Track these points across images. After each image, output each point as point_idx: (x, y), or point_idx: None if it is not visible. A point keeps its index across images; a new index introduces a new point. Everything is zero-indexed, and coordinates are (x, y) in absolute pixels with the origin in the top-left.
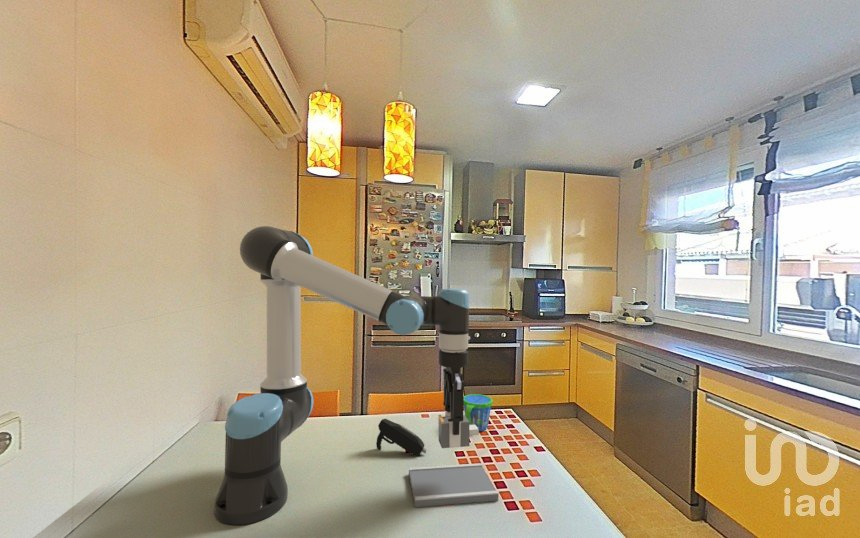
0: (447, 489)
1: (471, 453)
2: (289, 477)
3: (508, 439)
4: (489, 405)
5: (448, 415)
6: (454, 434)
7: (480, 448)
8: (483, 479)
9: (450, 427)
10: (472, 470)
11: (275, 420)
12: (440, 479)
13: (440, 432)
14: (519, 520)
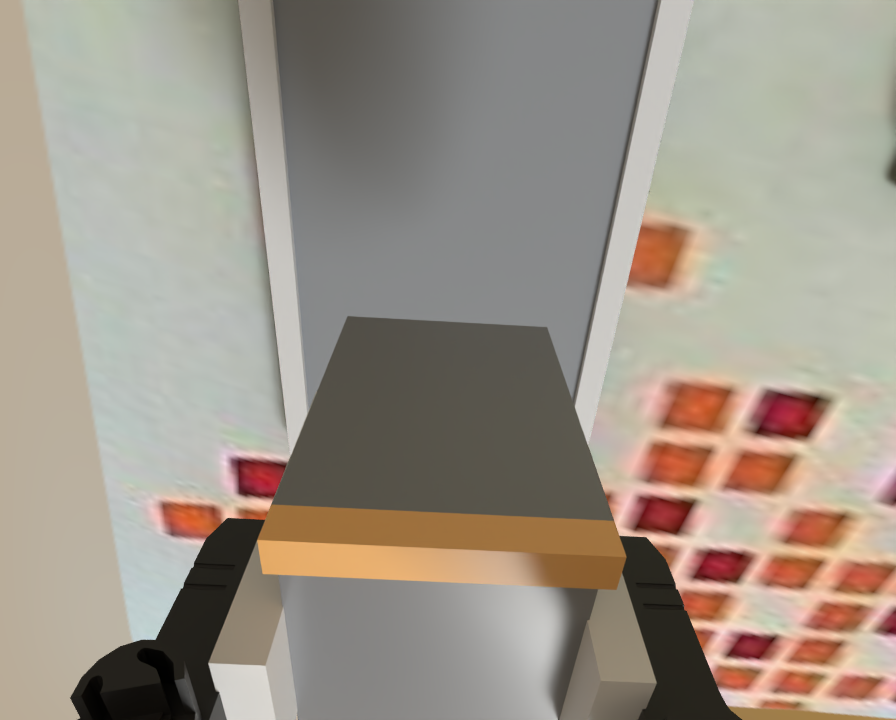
0: (355, 238)
1: (755, 470)
2: None
3: (798, 646)
4: None
5: (583, 664)
6: (222, 535)
7: (783, 522)
8: None
9: (248, 568)
10: None
11: None
12: (476, 223)
13: (417, 396)
14: (163, 471)
